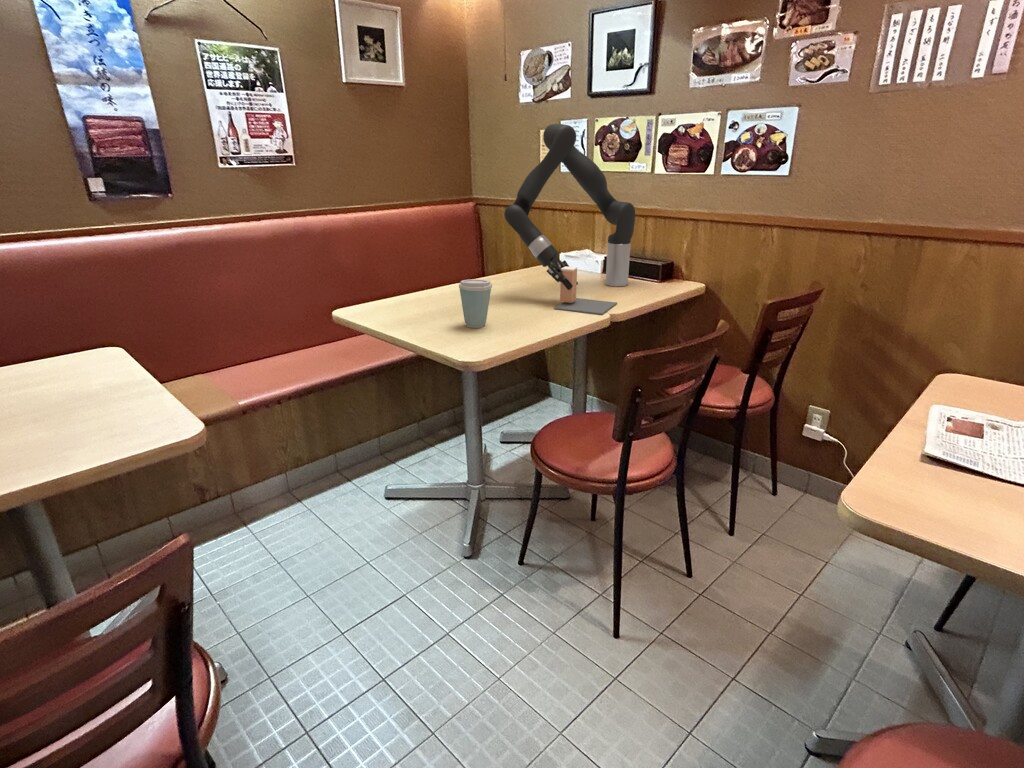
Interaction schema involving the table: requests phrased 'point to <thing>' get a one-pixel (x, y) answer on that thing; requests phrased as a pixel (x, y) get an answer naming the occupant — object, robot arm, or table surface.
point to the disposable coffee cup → (475, 301)
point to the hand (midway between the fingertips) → (573, 286)
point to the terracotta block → (572, 277)
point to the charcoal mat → (587, 306)
